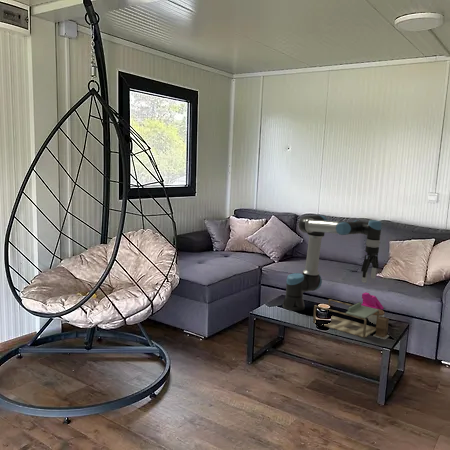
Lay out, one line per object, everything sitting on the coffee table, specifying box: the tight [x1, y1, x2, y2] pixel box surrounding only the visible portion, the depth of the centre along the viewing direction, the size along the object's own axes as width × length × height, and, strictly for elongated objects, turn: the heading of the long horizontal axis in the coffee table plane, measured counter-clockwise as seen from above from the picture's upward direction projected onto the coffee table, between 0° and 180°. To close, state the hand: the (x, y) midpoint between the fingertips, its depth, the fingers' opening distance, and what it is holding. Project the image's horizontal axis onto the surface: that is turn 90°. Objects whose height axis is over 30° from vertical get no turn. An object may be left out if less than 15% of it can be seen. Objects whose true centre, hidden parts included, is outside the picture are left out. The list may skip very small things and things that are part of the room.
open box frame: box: [312, 298, 379, 339], centre depth 280 cm, size 34×20×11 cm, turn 49°
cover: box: [345, 301, 378, 319], centre depth 272 cm, size 12×20×3 cm, turn 139°
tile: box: [373, 333, 390, 340], centre depth 266 cm, size 7×7×1 cm
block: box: [375, 316, 390, 338], centre depth 265 cm, size 5×5×10 cm
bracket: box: [361, 292, 385, 310], centre depth 317 cm, size 12×10×10 cm
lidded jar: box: [366, 308, 385, 325], centre depth 288 cm, size 11×11×9 cm
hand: (368, 280), depth 272 cm, fingers open, 13 cm apart
